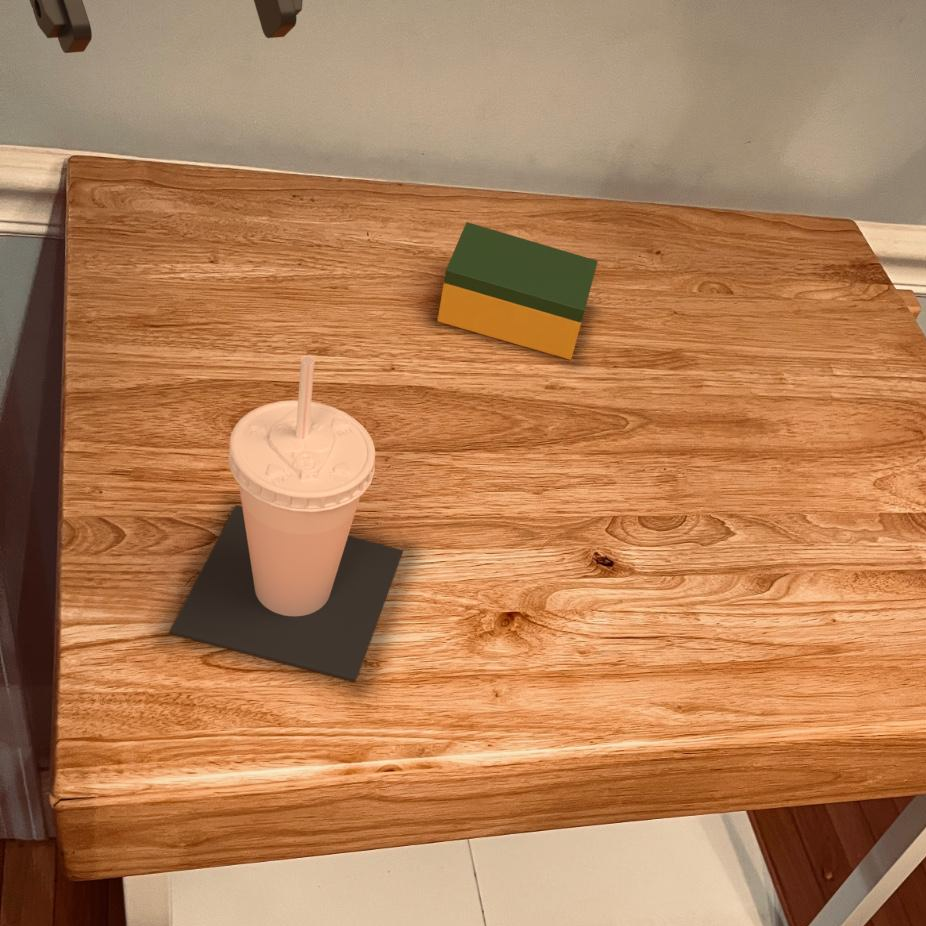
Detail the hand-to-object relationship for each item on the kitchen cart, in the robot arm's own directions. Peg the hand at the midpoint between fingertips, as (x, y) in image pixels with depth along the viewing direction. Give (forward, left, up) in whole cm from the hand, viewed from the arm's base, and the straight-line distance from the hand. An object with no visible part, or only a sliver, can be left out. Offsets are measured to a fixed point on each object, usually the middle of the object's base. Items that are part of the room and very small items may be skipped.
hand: (185, 38), depth 48 cm
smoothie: (+8, -8, -22) cm, 25 cm away
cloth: (+8, -8, -22) cm, 25 cm away
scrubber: (+14, +20, -22) cm, 33 cm away
